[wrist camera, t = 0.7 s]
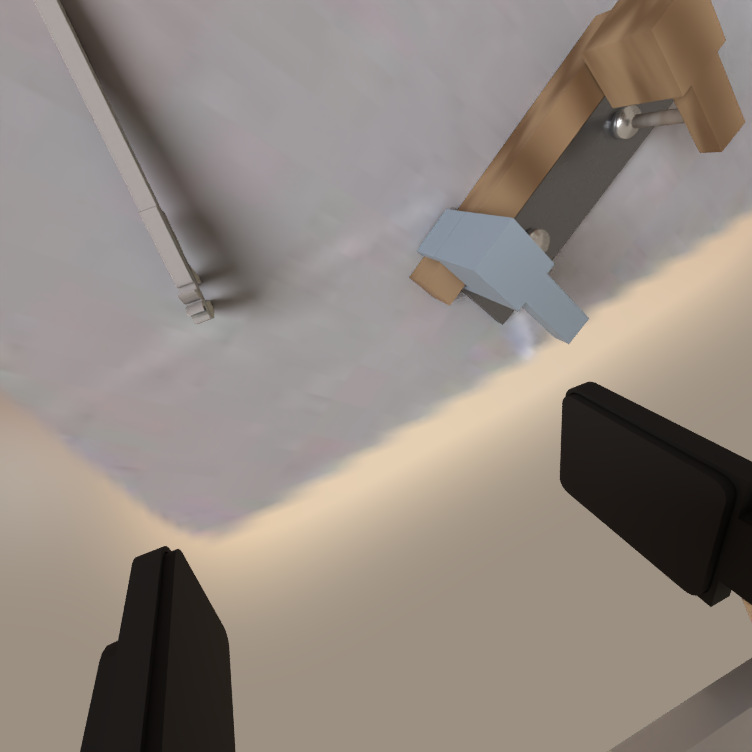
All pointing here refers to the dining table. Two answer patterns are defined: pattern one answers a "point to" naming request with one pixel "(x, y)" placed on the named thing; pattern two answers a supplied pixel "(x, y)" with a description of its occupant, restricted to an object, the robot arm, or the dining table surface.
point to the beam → (622, 88)
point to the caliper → (125, 160)
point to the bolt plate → (578, 181)
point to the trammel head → (503, 268)
